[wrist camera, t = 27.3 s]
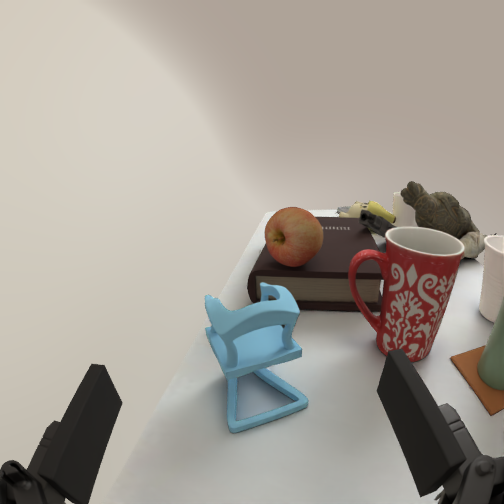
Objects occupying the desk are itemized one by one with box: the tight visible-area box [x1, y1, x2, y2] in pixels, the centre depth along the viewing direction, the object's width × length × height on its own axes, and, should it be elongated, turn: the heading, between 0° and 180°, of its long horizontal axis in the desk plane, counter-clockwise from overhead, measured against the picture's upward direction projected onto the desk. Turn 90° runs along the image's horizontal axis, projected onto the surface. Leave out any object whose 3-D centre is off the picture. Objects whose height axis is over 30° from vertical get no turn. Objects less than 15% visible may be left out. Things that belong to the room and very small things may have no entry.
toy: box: [339, 201, 396, 230], centre depth 72 cm, size 13×7×15 cm
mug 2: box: [348, 227, 465, 362], centre depth 29 cm, size 13×9×14 cm
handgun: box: [359, 209, 396, 237], centre depth 55 cm, size 3×19×12 cm
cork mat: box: [450, 345, 504, 415], centre depth 22 cm, size 10×10×1 cm
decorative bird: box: [460, 231, 496, 259], centre depth 52 cm, size 5×16×7 cm
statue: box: [400, 181, 480, 240], centre depth 55 cm, size 11×9×30 cm
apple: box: [265, 207, 323, 267], centre depth 39 cm, size 8×8×8 cm
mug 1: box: [392, 192, 418, 227], centre depth 68 cm, size 12×9×9 cm
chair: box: [205, 282, 308, 433], centre depth 25 cm, size 8×8×12 cm
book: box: [247, 217, 384, 311], centre depth 52 cm, size 28×20×6 cm
